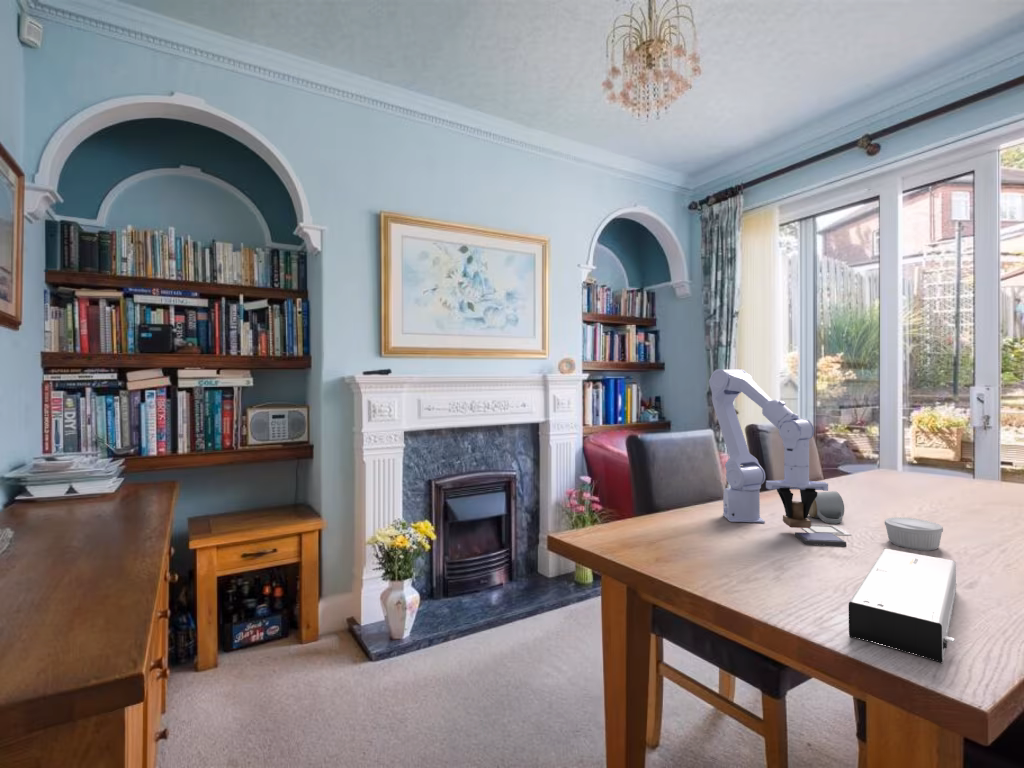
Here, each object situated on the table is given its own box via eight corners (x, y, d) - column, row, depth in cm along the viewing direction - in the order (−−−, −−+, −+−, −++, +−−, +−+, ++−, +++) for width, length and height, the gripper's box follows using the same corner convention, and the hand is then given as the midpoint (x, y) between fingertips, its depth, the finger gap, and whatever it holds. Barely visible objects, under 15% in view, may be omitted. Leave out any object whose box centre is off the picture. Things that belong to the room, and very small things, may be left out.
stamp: (790, 527, 132) (790, 504, 132) (782, 522, 137) (782, 499, 137) (811, 528, 131) (810, 505, 131) (802, 522, 136) (802, 500, 136)
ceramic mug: (803, 514, 153) (802, 488, 153) (832, 514, 152) (832, 488, 152) (820, 524, 143) (819, 497, 142) (851, 525, 142) (851, 497, 141)
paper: (809, 533, 133) (809, 532, 133) (797, 525, 141) (797, 524, 141) (851, 535, 132) (851, 534, 132) (836, 526, 140) (836, 525, 140)
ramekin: (889, 548, 122) (888, 526, 122) (881, 535, 132) (880, 515, 132) (949, 555, 117) (949, 532, 117) (936, 541, 126) (936, 520, 126)
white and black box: (883, 578, 104) (883, 548, 104) (963, 595, 96) (963, 562, 96) (848, 640, 80) (848, 601, 80) (952, 670, 71) (952, 626, 71)
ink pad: (806, 544, 125) (806, 540, 125) (794, 536, 132) (794, 531, 132) (846, 546, 123) (846, 541, 123) (832, 537, 130) (832, 532, 130)
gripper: (772, 467, 131) (772, 520, 131) (833, 468, 129) (833, 522, 129) (763, 462, 138) (763, 513, 138) (821, 463, 136) (821, 514, 136)
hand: (796, 517), depth 134 cm, fingers closed on stamp, 3 cm apart
